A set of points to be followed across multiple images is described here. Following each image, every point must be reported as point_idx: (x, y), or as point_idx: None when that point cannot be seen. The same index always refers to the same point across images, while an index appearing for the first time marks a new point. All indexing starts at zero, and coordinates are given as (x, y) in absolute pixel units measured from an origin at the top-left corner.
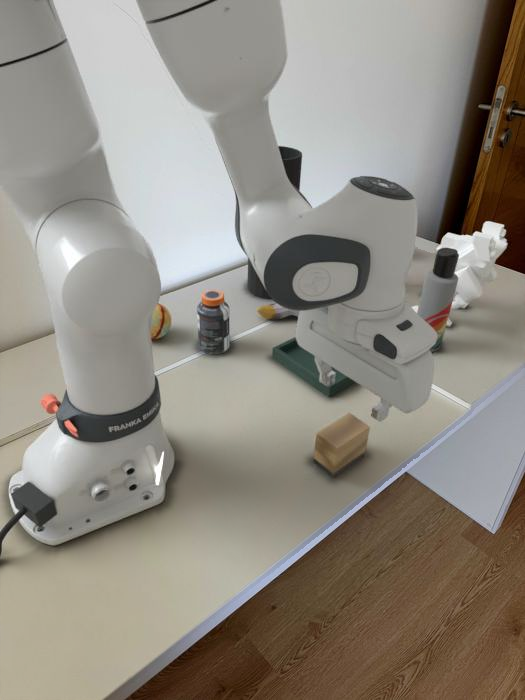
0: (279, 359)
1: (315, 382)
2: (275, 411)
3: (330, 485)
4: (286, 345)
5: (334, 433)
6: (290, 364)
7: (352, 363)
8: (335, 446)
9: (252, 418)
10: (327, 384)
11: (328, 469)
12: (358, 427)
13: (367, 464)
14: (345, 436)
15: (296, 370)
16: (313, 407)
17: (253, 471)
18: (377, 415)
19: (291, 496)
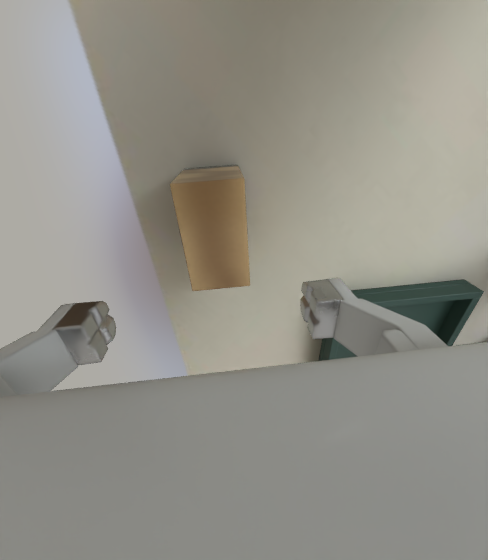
0: (452, 285)
1: (366, 295)
2: (381, 195)
3: (169, 150)
4: (462, 312)
5: (217, 216)
6: (428, 290)
7: (112, 558)
8: (179, 186)
9: (408, 138)
10: (305, 287)
11: (195, 169)
12: (203, 272)
13: (180, 244)
14: (195, 231)
15: (410, 290)
16: (333, 259)
17: (299, 4)
18: (61, 316)
19: (183, 38)
